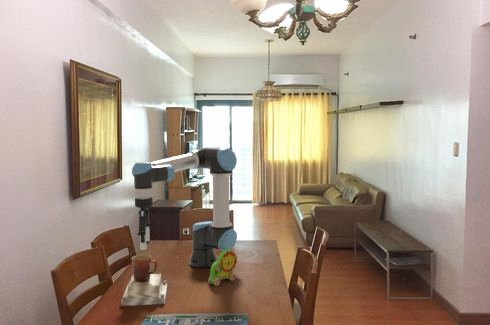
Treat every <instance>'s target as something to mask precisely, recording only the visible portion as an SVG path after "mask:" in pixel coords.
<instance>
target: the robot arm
mask: <svg viewBox="0 0 490 325" xmlns="http://www.w3.org/2000/svg"><path fill="white" fill-rule="evenodd" d="M237 160H238V159H237V155H236V153H235V152H234V151H233V150H232V149H231V148H228V147H223V146H222V147H220V146H217V147H215V146H214V147H213V146H212V147H211V146H207V147H202V148H198V149H194V150H191V151H188V152H187V153H186V154H181V155H177V156H172V157H168V158H163V159H159V160H154V161H141V162H140V161H139V162H138V161H137V162H135V163H134V164H133V166H132V168H131V173H132V176H133V184H134V186H133V187H134V190H133V193H134V197H135V199H134V207H135V208H140V209H139V211H138V218H139V220H138V221H139V222H138V223H139V225H138V226H139V227H138V233H137V236H139V250H140V251H145V250H146V251H147V248H148V247H147V242H150V238H151V236H150V227H151V226H152V224H151V223H150V210H149V208H151V207H152V206H153V204H154V202H153V183H161V182H169V181H172V180H173V179H174V178H175V173H176V172H180V171H185V170H188V169H192V170H197V169H209V174H210V175H211V176H212V220H213V221H211V220H210V221H208V220H207V221H202V222H196V223H194V224H193V225H192V230H191V234H192V252H191V254H190V258H189V265H190V266H191V267H194V268H205V269H206V268H211V266H212V265H213V263H214V262H216V261H217V259H218V257H217V255H216V253H215V249H216V250H218V251H224V250H230V251H231V250H232V249H233V248H234V246H235V245H236V242H237V241H238V240H237V239H238V233H237V232H236V231H235V229H233V223H232V222H231V221H230V176H231V175H232V174H233V170H234V169H235V168H236V166H237Z"/></svg>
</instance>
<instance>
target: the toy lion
mask: <svg viewBox="0 0 490 325" xmlns="http://www.w3.org/2000/svg"><path fill="white" fill-rule="evenodd" d="M237 258H238V257H237V254H236V253H235V251H232V250H231V249H230V250H222V252H220V253H219V255H218V257H217V261H216V262H214V263H213V265H212V266H211V267H210V271H209V278H208V283H209V284H210V285H214V286H216V287H218V286H220V284H221V281H222V280H225V279H226V280H229V281H231V282H234V281H235V279H236V278H237V277H236V273H233V270H234V269H235V267H236V266H237V263H238V260H237ZM218 267H219V270H218V271H217V268H218ZM216 271H217V272H216Z"/></svg>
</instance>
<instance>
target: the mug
mask: <svg viewBox="0 0 490 325" xmlns="http://www.w3.org/2000/svg"><path fill="white" fill-rule="evenodd" d="M152 258H153V256H152V255H150V254H145V253H144V254H136V255H134V256H132V257H131V262H132V265H133V267H132V268H133V272H132V273H133V274H132V275H133V278H134V280H135V281H136V282H146V281H148V280H149V279H150V275H151V274H155V273H156V271H157V269H158V262H157V260H155V259H152ZM151 263H153V264H154V267H153V270H151Z"/></svg>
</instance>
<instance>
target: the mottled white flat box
mask: <svg viewBox="0 0 490 325" xmlns="http://www.w3.org/2000/svg"><path fill="white" fill-rule="evenodd" d="M125 288H126V289H125V291H124V292H123V294H122V297H121V300H120V301H121V302H120V303H121V307H125V306H126V307H129V306H147V305H148V306H149V305H162V304H164V305H165V304H166V299H167V293H168V292H167V291H168V281H167V280H163V281H162V273H153V274H151V275H150V279H149V280H148V281H146V282H136V281H135V280H134V278H133V274H132V275H131V278H130V280H129V282H127V286H126V287H125Z"/></svg>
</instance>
